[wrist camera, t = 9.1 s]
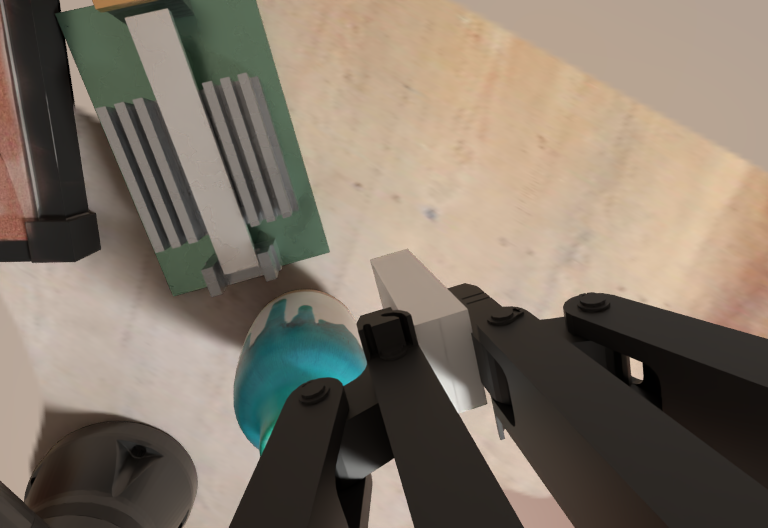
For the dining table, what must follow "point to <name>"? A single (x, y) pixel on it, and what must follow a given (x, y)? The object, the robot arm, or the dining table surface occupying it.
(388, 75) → the dining table surface
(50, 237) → the brown labeled slab
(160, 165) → the heatsink
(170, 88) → the strap
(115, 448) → the robot arm
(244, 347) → the vase
